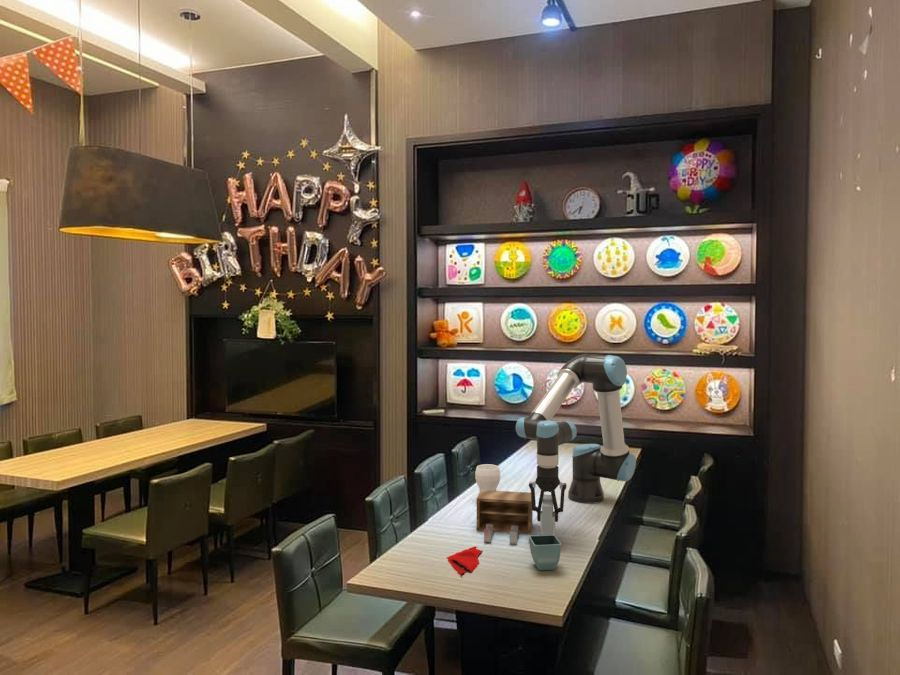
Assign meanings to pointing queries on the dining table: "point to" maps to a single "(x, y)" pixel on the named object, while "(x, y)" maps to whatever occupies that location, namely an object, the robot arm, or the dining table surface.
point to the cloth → (465, 560)
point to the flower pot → (545, 551)
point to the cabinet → (504, 510)
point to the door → (547, 515)
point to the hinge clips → (490, 532)
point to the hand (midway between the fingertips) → (547, 530)
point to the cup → (487, 477)
